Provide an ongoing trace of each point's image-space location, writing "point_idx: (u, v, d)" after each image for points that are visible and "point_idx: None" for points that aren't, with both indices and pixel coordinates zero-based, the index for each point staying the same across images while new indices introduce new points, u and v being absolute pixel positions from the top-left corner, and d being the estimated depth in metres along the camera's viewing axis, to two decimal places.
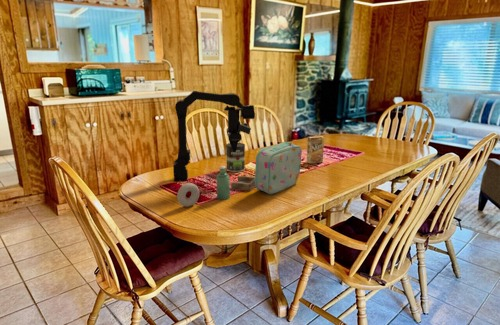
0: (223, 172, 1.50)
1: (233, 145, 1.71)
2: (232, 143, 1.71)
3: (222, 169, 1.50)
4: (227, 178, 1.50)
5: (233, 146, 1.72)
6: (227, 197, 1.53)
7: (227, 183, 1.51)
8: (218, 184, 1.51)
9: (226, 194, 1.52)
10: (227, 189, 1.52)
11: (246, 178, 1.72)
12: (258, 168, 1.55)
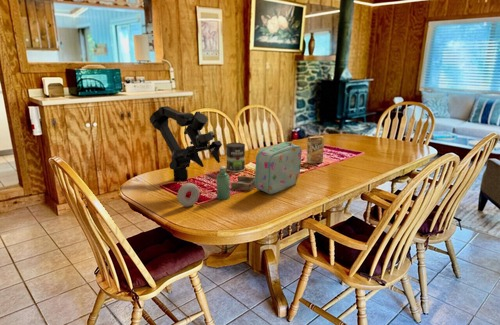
0: (223, 172, 1.50)
1: (196, 160, 1.54)
2: (194, 159, 1.55)
3: (222, 169, 1.50)
4: (227, 178, 1.50)
5: (197, 161, 1.54)
6: (227, 197, 1.53)
7: (227, 183, 1.51)
8: (218, 184, 1.51)
9: (226, 194, 1.52)
10: (227, 189, 1.52)
11: (246, 178, 1.72)
12: (258, 168, 1.55)
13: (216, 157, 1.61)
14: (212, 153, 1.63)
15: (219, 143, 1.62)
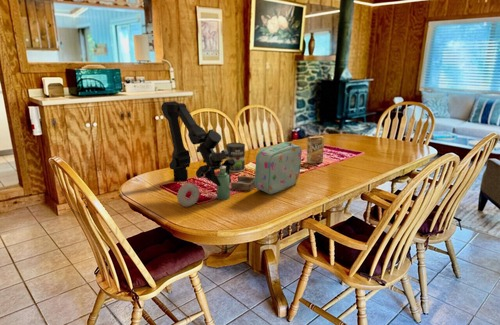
0: (223, 172, 1.50)
1: (212, 179, 1.51)
2: (210, 178, 1.51)
3: (222, 169, 1.50)
4: (227, 178, 1.50)
5: (213, 180, 1.51)
6: (227, 197, 1.53)
7: (227, 183, 1.51)
8: None
9: (226, 194, 1.52)
10: (227, 189, 1.52)
11: (246, 178, 1.72)
12: (258, 168, 1.55)
13: None
14: None
15: (233, 161, 1.57)
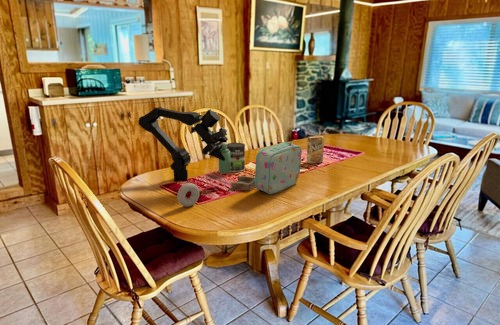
0: (225, 147, 1.65)
1: (217, 155, 1.63)
2: (215, 154, 1.63)
3: (225, 145, 1.64)
4: (229, 152, 1.65)
5: (218, 156, 1.63)
6: (229, 170, 1.68)
7: None
8: None
9: (229, 168, 1.67)
10: None
11: (246, 178, 1.72)
12: (258, 168, 1.55)
13: None
14: (219, 149, 1.70)
15: (226, 138, 1.72)
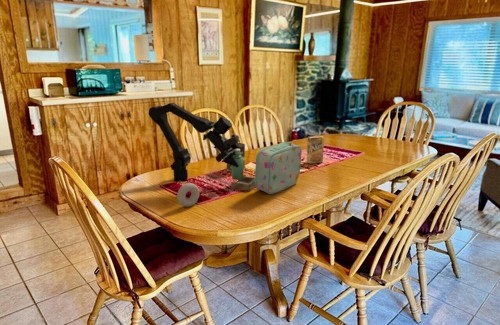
0: (239, 154, 1.65)
1: (231, 162, 1.63)
2: (228, 161, 1.63)
3: (238, 151, 1.64)
4: None
5: (231, 163, 1.63)
6: (243, 176, 1.68)
7: None
8: None
9: (242, 174, 1.67)
10: None
11: (246, 178, 1.72)
12: (258, 168, 1.55)
13: None
14: (231, 156, 1.70)
15: (238, 144, 1.72)
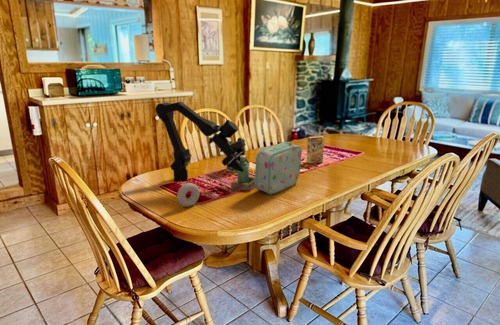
0: (244, 160, 1.65)
1: (235, 166, 1.61)
2: (233, 166, 1.61)
3: (244, 158, 1.64)
4: (248, 165, 1.65)
5: (236, 167, 1.61)
6: (248, 183, 1.68)
7: (248, 170, 1.66)
8: (241, 172, 1.64)
9: (248, 180, 1.67)
10: (248, 175, 1.67)
11: None
12: (258, 168, 1.55)
13: None
14: (238, 158, 1.71)
15: (244, 148, 1.72)
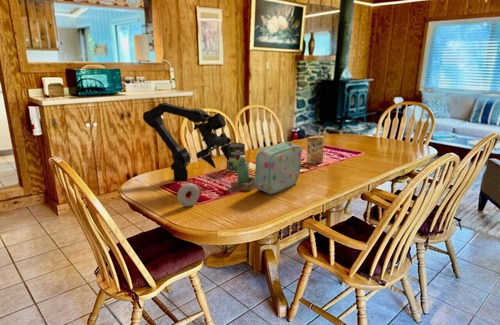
0: (244, 160, 1.65)
1: (209, 161, 1.65)
2: (207, 160, 1.66)
3: (244, 158, 1.64)
4: (248, 165, 1.65)
5: (209, 162, 1.66)
6: (248, 183, 1.68)
7: (248, 170, 1.66)
8: (241, 172, 1.64)
9: (248, 180, 1.67)
10: (248, 175, 1.67)
11: None
12: (258, 168, 1.55)
13: (226, 154, 1.72)
14: (222, 149, 1.73)
15: (229, 141, 1.71)
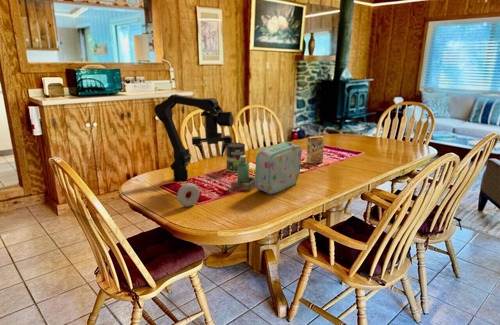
0: (244, 161, 1.65)
1: None
2: None
3: (244, 158, 1.64)
4: (248, 165, 1.65)
5: (200, 151, 1.68)
6: (248, 183, 1.68)
7: (248, 170, 1.66)
8: (241, 172, 1.64)
9: (248, 180, 1.67)
10: (248, 175, 1.67)
11: None
12: (258, 168, 1.55)
13: (221, 151, 1.70)
14: (222, 144, 1.70)
15: (228, 142, 1.66)
